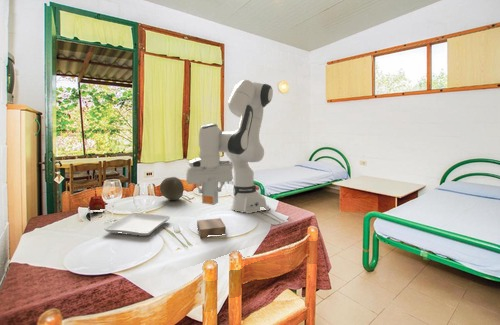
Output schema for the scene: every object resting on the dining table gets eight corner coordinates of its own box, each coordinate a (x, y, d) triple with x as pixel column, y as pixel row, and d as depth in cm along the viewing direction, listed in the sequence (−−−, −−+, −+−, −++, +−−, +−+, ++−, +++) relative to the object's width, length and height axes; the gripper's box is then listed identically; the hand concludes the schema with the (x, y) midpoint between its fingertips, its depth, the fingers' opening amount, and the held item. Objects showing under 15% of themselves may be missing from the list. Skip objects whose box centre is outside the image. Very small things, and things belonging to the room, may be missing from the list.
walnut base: (220, 226, 124) (220, 218, 123) (225, 235, 113) (225, 226, 113) (197, 228, 120) (197, 220, 120) (200, 238, 110) (200, 229, 109)
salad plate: (147, 240, 108) (147, 232, 108) (103, 235, 112) (102, 228, 111) (171, 222, 129) (171, 215, 128) (133, 218, 132) (132, 212, 132)
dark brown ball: (174, 196, 174) (173, 174, 172) (188, 199, 166) (188, 177, 164) (156, 200, 163) (155, 177, 161) (170, 205, 155) (169, 180, 153)
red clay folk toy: (90, 215, 136) (88, 187, 134) (88, 211, 141) (86, 184, 139) (106, 212, 140) (105, 185, 138) (104, 208, 146) (102, 183, 144)
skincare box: (201, 203, 114) (201, 177, 112) (207, 200, 118) (206, 175, 116) (213, 205, 112) (213, 178, 110) (218, 202, 116) (218, 176, 114)
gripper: (230, 159, 118) (231, 188, 121) (185, 161, 112) (186, 192, 114) (234, 161, 113) (234, 192, 115) (186, 163, 106) (187, 195, 108)
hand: (210, 192), depth 114 cm, fingers closed on skincare box, 7 cm apart
